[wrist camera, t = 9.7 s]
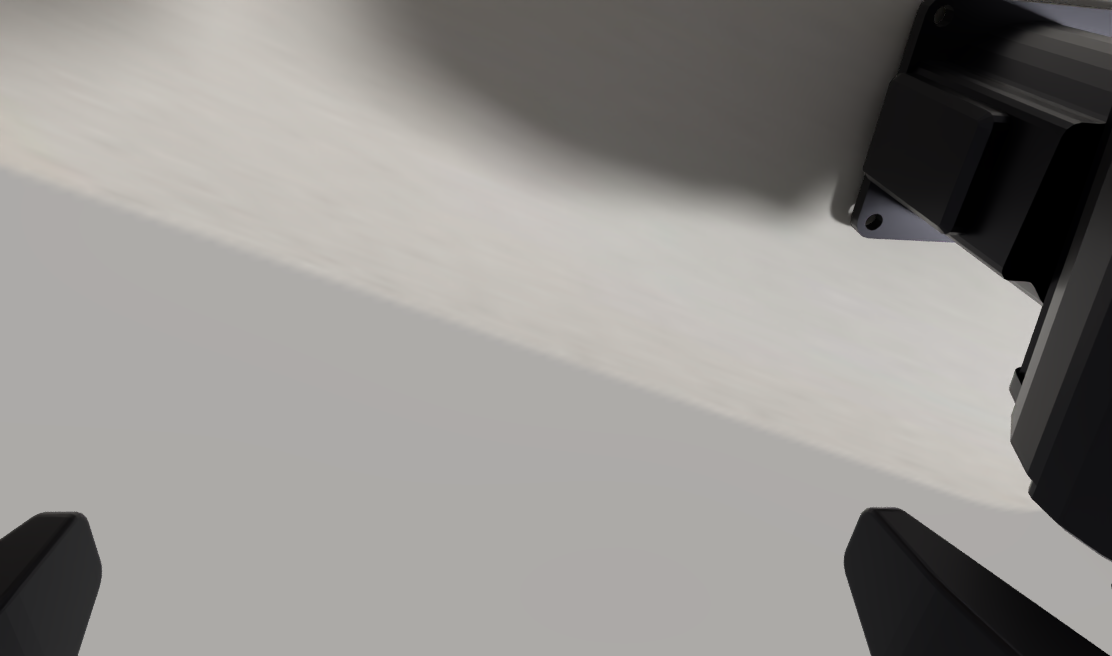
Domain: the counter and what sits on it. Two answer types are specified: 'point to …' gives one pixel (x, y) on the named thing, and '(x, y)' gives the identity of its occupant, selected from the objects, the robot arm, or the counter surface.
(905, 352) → the counter surface
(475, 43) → the counter surface
